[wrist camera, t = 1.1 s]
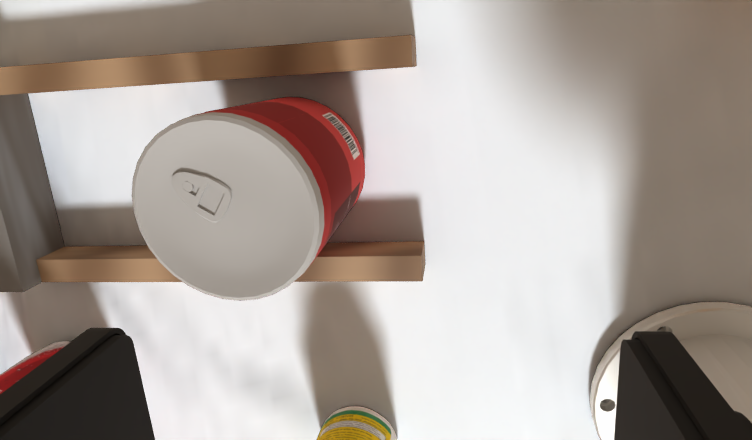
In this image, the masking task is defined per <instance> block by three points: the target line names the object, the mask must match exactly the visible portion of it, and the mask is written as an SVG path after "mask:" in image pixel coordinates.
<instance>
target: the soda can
mask: <svg viewBox="0 0 752 440" xmlns="http://www.w3.org/2000/svg"><path fill="white" fill-rule="evenodd" d="M69 343H70V341H61V342H56V343H52V344H50V345H48V346H46V347H44V348H42V349H41V350H39V351H37V352H35V353H33V354H31V355H29V356H28V357H26V358H24V359H23V360H21V361H20V362H18V363H17V364H15V365H14V366H12V367H11V368H9V369H8V370H6V371H5V372H3V373H2V374H0V394H1V393H3V392H4V391H5V390H7V389H8V388H9V387H11V386H12V385H13V384H15V383H16V382H17V381H19V380H20V379H21V378H23V377H24V376H26V375H27V374H28V373H30V372H31V371H32V370H34V369H35V368H36V367H38V366H39V365H40V364H42V363H43V362H44V361H46V360H47V359H48V358H50V357H51V356H52V355H54V354H55V353H56V352H58V351H59V350H61V349H62V348H63V347H65V346H66V345H67V344H69Z"/></svg>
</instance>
